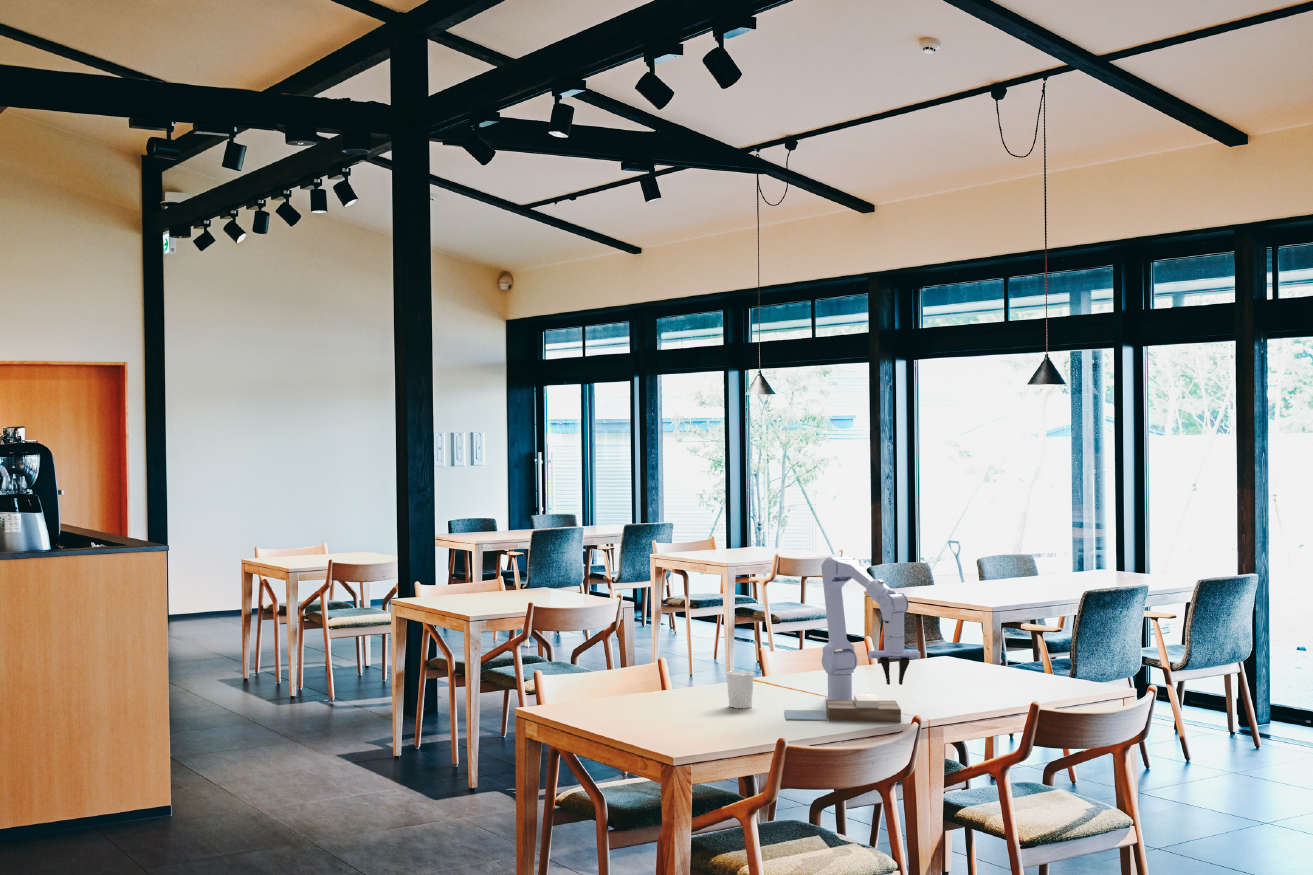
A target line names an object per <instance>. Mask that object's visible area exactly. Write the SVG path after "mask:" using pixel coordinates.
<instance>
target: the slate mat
mask: <svg viewBox="0 0 1313 875" xmlns="http://www.w3.org/2000/svg"><path fill="white" fill-rule="evenodd" d="M784 716H785V721H810V722H811V721H812V722H816V721H820V722H821V721H823V722H827V721H828V717H827V713H826V710H816V709H815V710H813V709H808V710H807V709H804V710H803V709H784Z"/></svg>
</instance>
